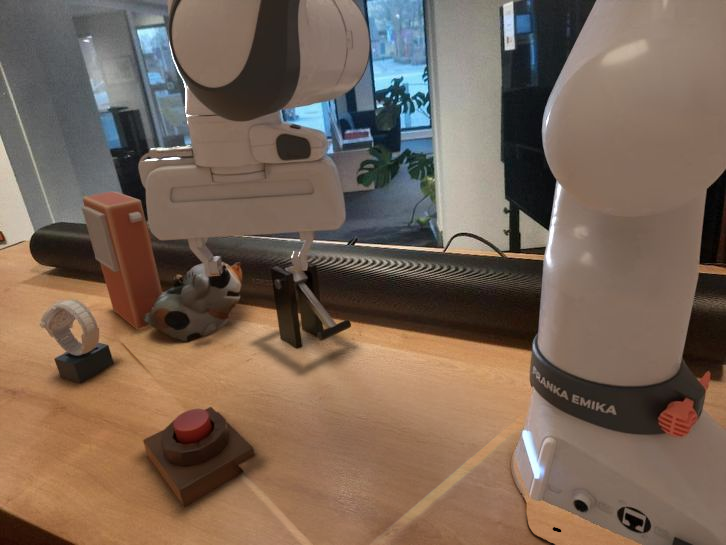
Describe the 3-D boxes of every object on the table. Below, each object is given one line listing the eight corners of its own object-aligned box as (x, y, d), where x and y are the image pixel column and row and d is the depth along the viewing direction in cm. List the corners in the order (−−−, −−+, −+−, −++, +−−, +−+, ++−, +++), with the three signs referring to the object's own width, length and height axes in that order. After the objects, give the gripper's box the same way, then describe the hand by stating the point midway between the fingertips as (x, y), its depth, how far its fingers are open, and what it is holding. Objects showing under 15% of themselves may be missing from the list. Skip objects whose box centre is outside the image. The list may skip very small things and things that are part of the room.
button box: (256, 464, 52) (251, 433, 51) (184, 507, 48) (175, 475, 46) (214, 421, 59) (208, 393, 58) (147, 455, 55) (138, 426, 53)
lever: (348, 331, 69) (353, 321, 68) (320, 345, 66) (324, 335, 65) (301, 271, 74) (305, 260, 72) (273, 281, 71) (276, 270, 69)
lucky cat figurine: (183, 307, 90) (209, 238, 88) (238, 337, 88) (267, 267, 86) (126, 323, 76) (155, 241, 73) (191, 359, 74) (223, 276, 71)
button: (217, 432, 52) (215, 418, 51) (185, 449, 50) (181, 435, 49) (203, 417, 54) (200, 404, 54) (171, 433, 52) (167, 419, 52)
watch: (86, 355, 76) (65, 290, 72) (121, 365, 73) (102, 297, 69) (51, 374, 72) (27, 306, 68) (87, 386, 68) (64, 315, 64)
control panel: (143, 298, 96) (176, 320, 86) (105, 310, 92) (135, 336, 81) (116, 189, 88) (148, 199, 78) (73, 197, 84) (101, 209, 74)
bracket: (351, 347, 74) (344, 267, 69) (301, 371, 68) (290, 287, 63) (304, 322, 82) (295, 249, 77) (257, 342, 77) (244, 265, 72)
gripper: (120, 153, 46) (152, 289, 51) (338, 139, 46) (348, 277, 51) (147, 145, 52) (173, 267, 57) (340, 132, 52) (350, 256, 57)
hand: (257, 271), depth 54 cm, fingers open, 8 cm apart
